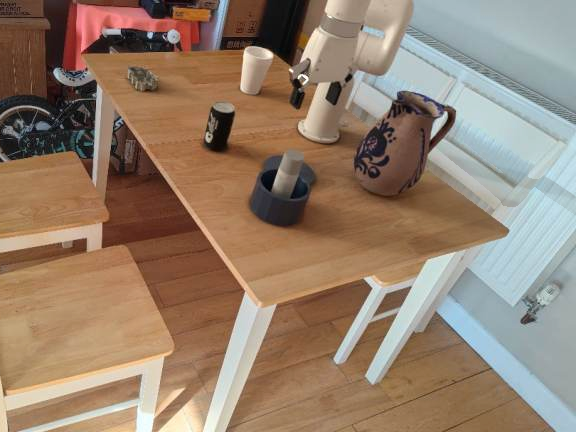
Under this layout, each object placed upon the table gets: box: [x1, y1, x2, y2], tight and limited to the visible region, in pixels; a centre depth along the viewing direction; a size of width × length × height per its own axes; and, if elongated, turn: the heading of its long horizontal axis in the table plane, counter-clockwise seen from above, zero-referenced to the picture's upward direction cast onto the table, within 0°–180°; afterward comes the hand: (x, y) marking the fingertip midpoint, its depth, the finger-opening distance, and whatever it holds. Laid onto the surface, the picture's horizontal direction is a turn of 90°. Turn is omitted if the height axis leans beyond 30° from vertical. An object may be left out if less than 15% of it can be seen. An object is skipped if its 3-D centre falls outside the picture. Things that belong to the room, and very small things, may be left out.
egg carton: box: [127, 65, 160, 92], centre depth 160 cm, size 11×8×4 cm
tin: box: [249, 167, 312, 227], centre depth 121 cm, size 13×13×8 cm
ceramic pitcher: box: [352, 90, 457, 197], centre depth 131 cm, size 18×21×25 cm
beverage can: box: [203, 100, 236, 152], centre depth 136 cm, size 7×7×12 cm
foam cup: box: [239, 45, 274, 96], centre depth 166 cm, size 10×9×13 cm
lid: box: [263, 154, 316, 186], centre depth 134 cm, size 14×14×6 cm
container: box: [271, 148, 305, 199], centre depth 118 cm, size 5×5×15 cm
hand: (312, 104), depth 109 cm, fingers open, 9 cm apart
